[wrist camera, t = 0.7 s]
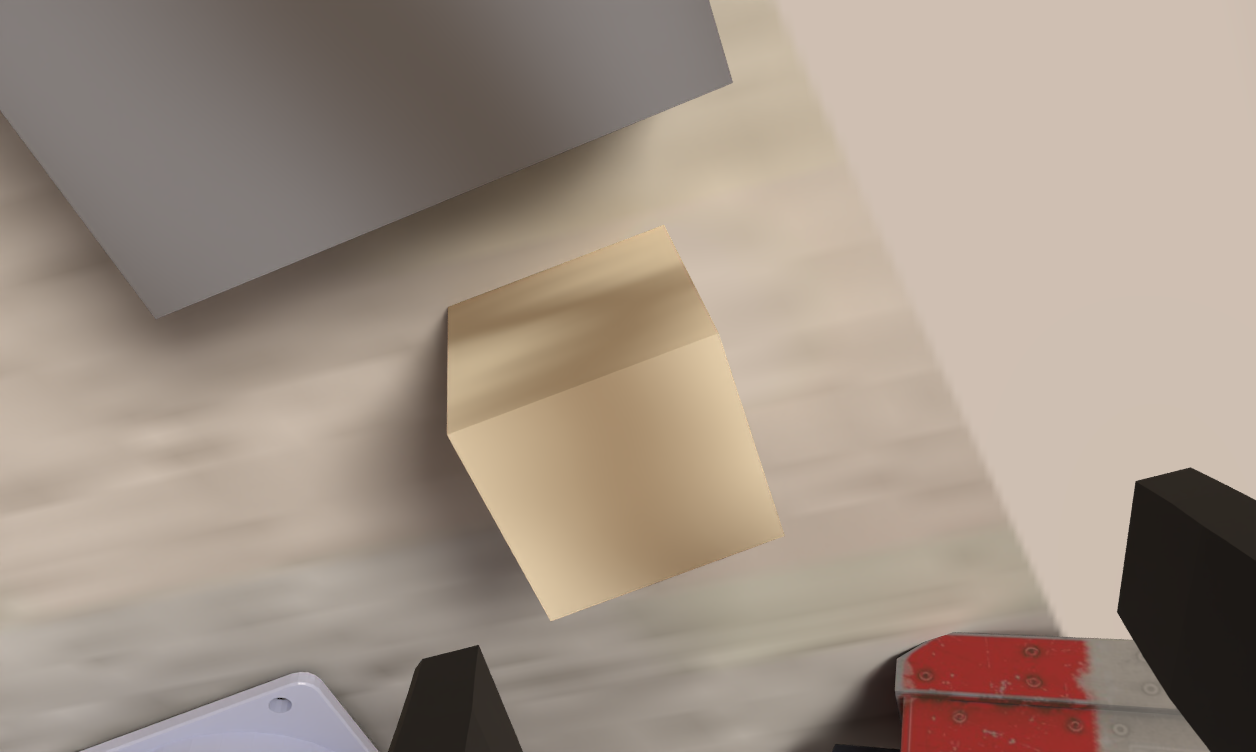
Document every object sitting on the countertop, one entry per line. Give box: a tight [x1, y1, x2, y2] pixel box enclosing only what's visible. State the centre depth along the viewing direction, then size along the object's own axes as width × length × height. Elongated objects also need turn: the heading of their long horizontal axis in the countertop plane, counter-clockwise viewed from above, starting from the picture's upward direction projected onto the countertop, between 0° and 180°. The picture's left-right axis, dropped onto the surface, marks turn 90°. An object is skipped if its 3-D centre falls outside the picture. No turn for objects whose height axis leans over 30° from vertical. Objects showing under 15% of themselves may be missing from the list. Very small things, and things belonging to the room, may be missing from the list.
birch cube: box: [447, 225, 785, 621], centre depth 18 cm, size 4×4×4 cm
